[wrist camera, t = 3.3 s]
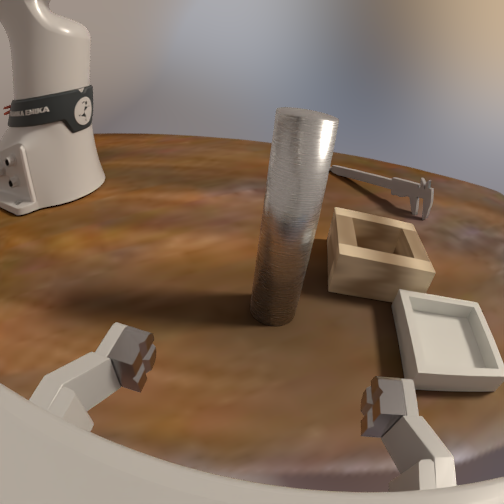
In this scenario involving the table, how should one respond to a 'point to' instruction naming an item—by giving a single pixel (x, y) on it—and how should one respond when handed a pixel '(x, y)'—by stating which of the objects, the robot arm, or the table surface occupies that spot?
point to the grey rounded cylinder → (291, 210)
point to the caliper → (395, 187)
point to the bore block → (375, 256)
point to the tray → (445, 343)
